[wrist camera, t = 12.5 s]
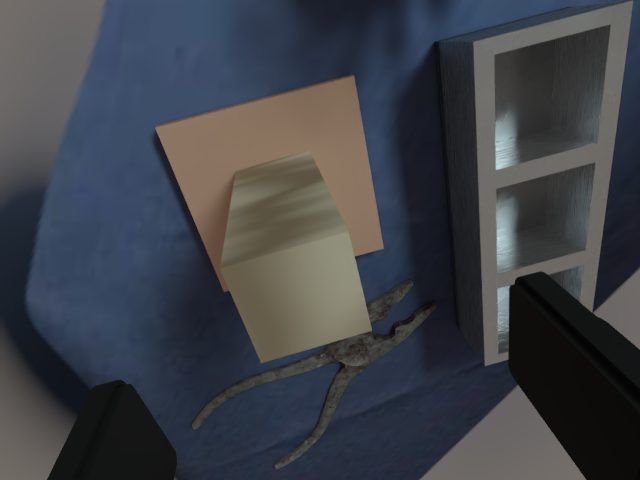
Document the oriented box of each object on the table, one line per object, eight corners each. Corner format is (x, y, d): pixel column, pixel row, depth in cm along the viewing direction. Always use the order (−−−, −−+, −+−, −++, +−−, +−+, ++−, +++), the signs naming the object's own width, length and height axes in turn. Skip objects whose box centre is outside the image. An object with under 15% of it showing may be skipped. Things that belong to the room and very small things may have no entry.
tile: (350, 74, 20) (354, 75, 19) (380, 242, 25) (383, 248, 24) (158, 124, 20) (155, 127, 19) (224, 284, 25) (223, 291, 24)
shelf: (567, 7, 20) (633, 0, 17) (548, 300, 29) (589, 337, 25) (435, 41, 20) (473, 41, 16) (456, 326, 29) (484, 366, 25)
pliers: (179, 444, 30) (328, 237, 24) (181, 434, 30) (326, 231, 24) (288, 475, 33) (444, 301, 27) (288, 465, 34) (439, 294, 28)
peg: (309, 149, 21) (348, 231, 12) (327, 217, 23) (372, 330, 14) (235, 170, 21) (219, 268, 12) (259, 236, 23) (261, 363, 14)
